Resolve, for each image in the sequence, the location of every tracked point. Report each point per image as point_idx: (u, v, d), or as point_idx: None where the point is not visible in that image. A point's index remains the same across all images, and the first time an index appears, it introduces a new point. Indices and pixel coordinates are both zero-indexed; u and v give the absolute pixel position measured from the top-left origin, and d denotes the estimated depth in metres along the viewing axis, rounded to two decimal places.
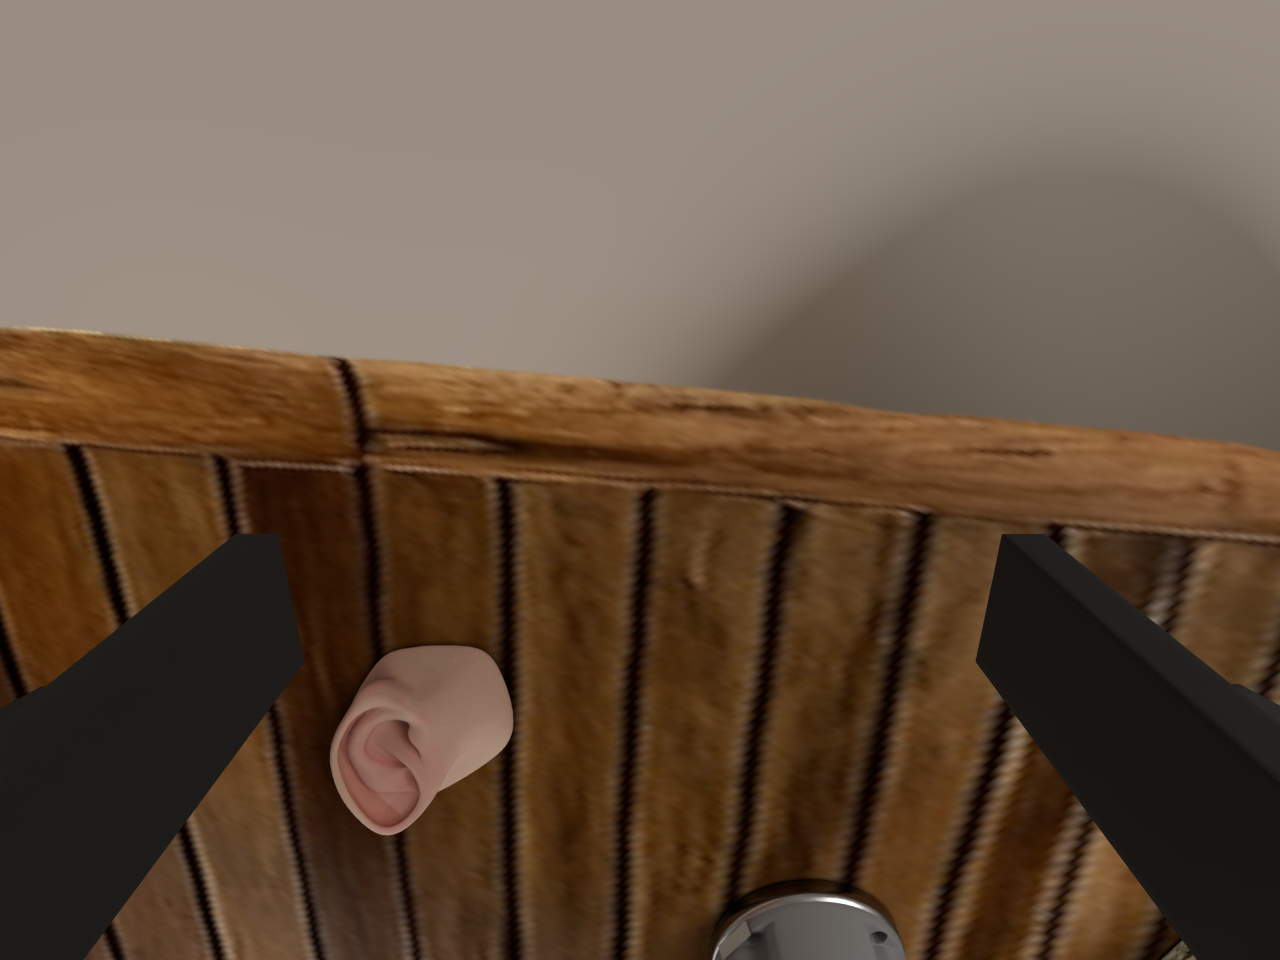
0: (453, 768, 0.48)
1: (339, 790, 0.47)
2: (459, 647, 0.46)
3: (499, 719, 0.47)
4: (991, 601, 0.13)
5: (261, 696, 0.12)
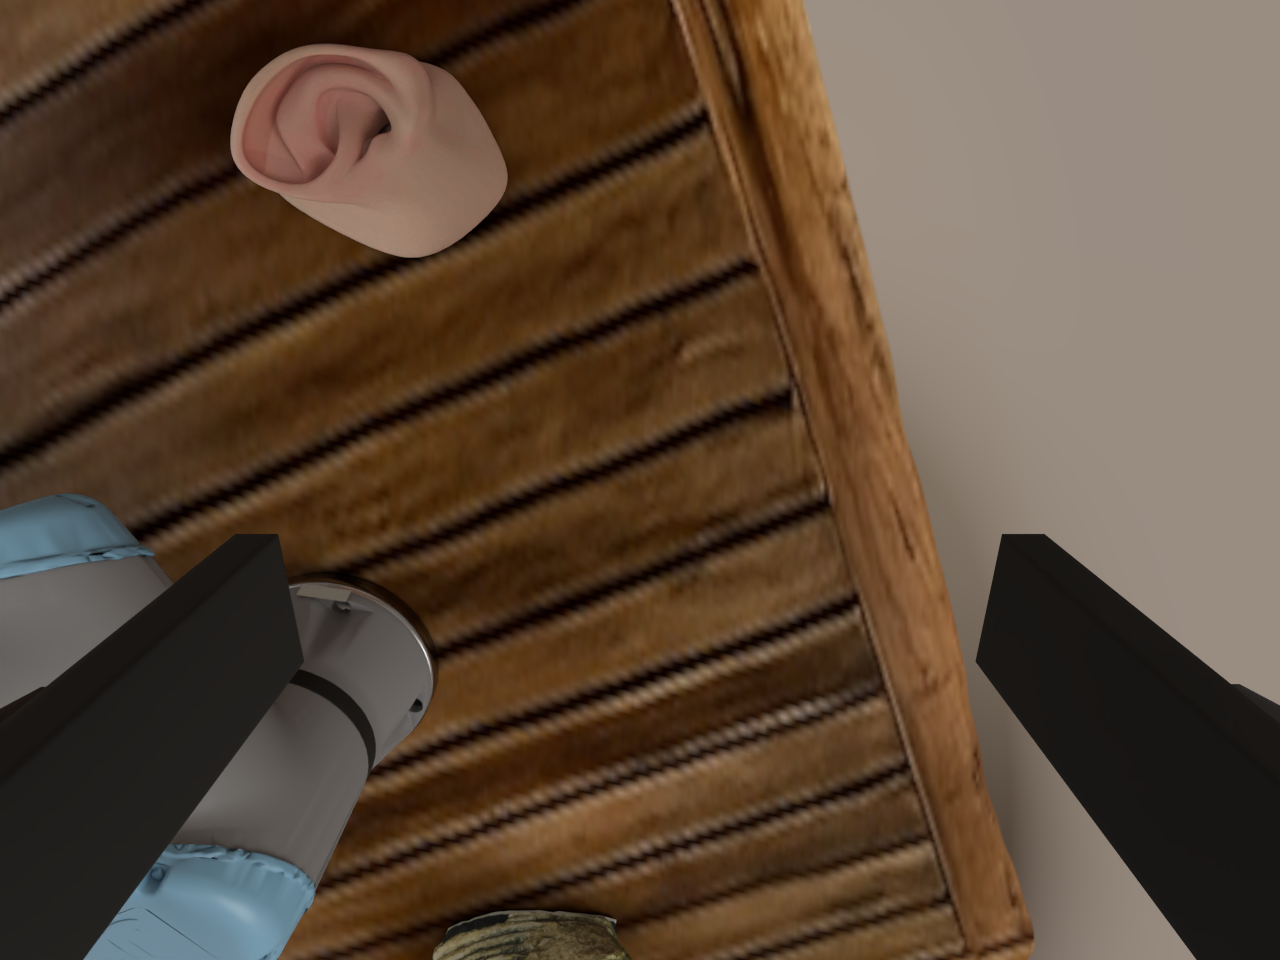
0: (349, 210, 0.41)
1: (256, 79, 0.37)
2: (499, 151, 0.40)
3: (439, 234, 0.42)
4: (991, 601, 0.13)
5: (260, 696, 0.12)
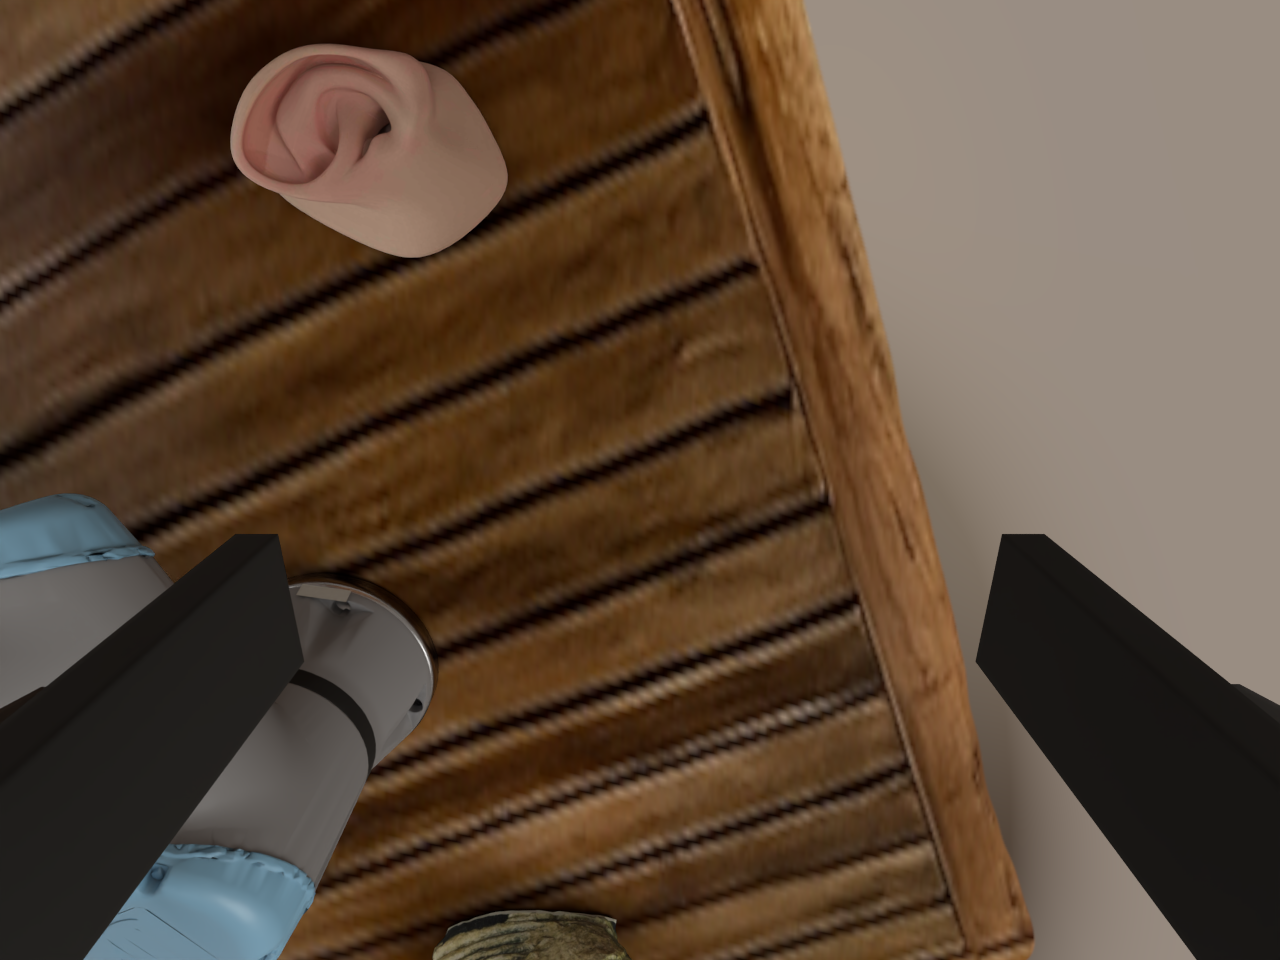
0: (349, 210, 0.41)
1: (256, 79, 0.37)
2: (499, 151, 0.40)
3: (439, 234, 0.42)
4: (991, 601, 0.13)
5: (260, 696, 0.12)
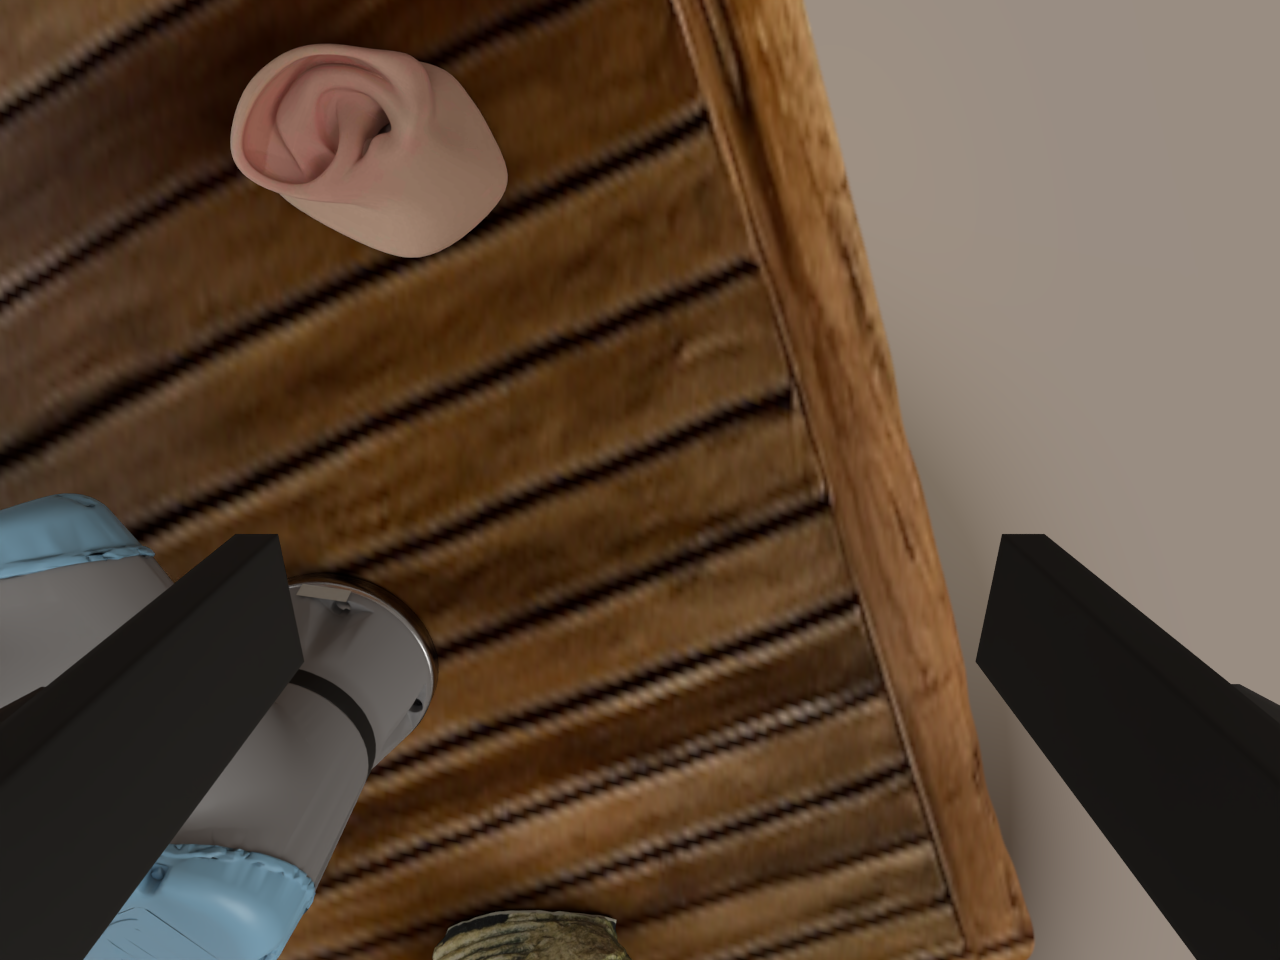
0: (349, 210, 0.41)
1: (256, 79, 0.37)
2: (499, 151, 0.40)
3: (439, 234, 0.42)
4: (991, 601, 0.13)
5: (260, 696, 0.12)
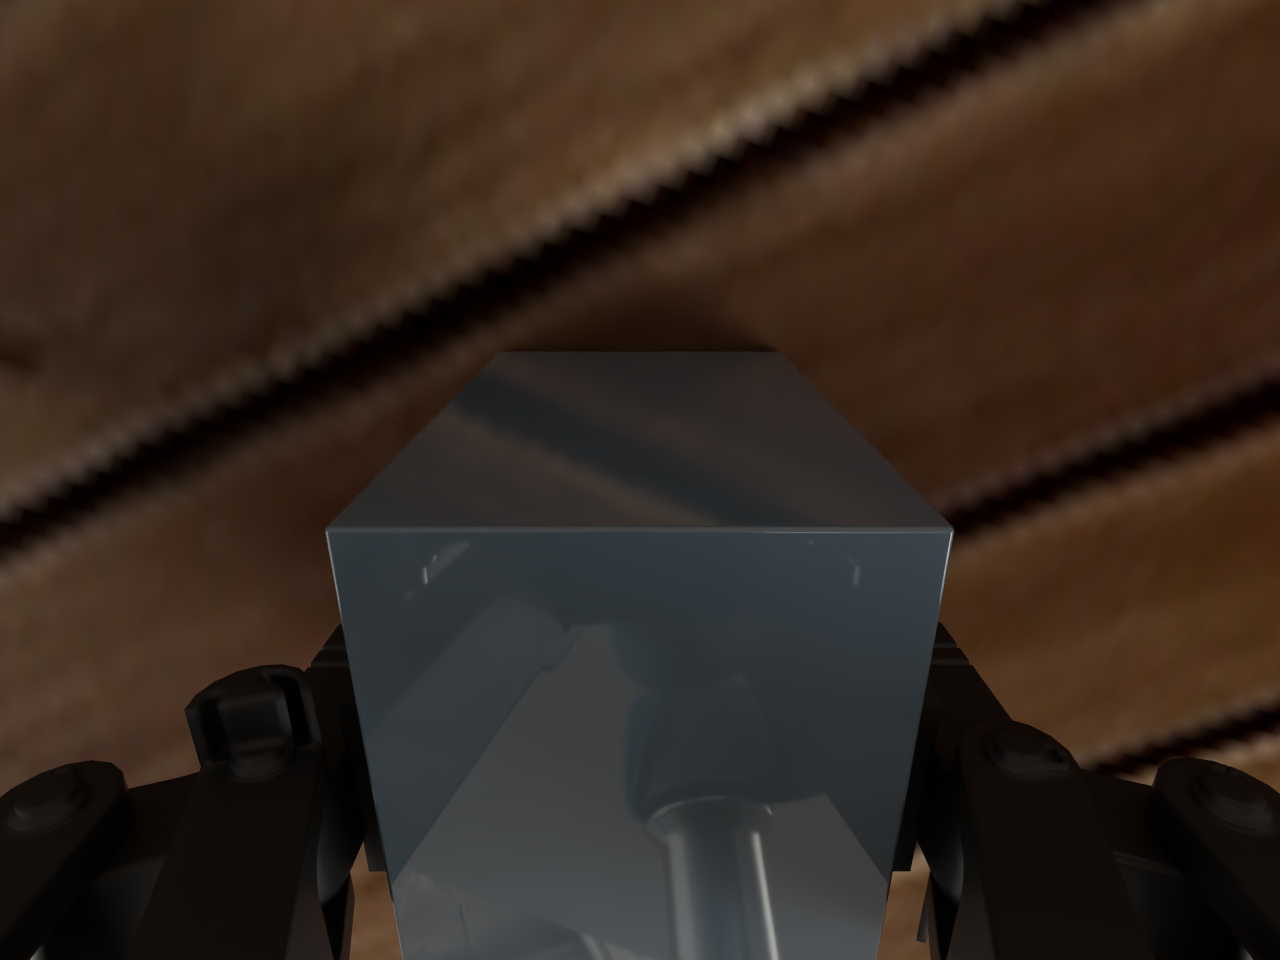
0: None
1: None
2: None
3: None
4: None
5: None
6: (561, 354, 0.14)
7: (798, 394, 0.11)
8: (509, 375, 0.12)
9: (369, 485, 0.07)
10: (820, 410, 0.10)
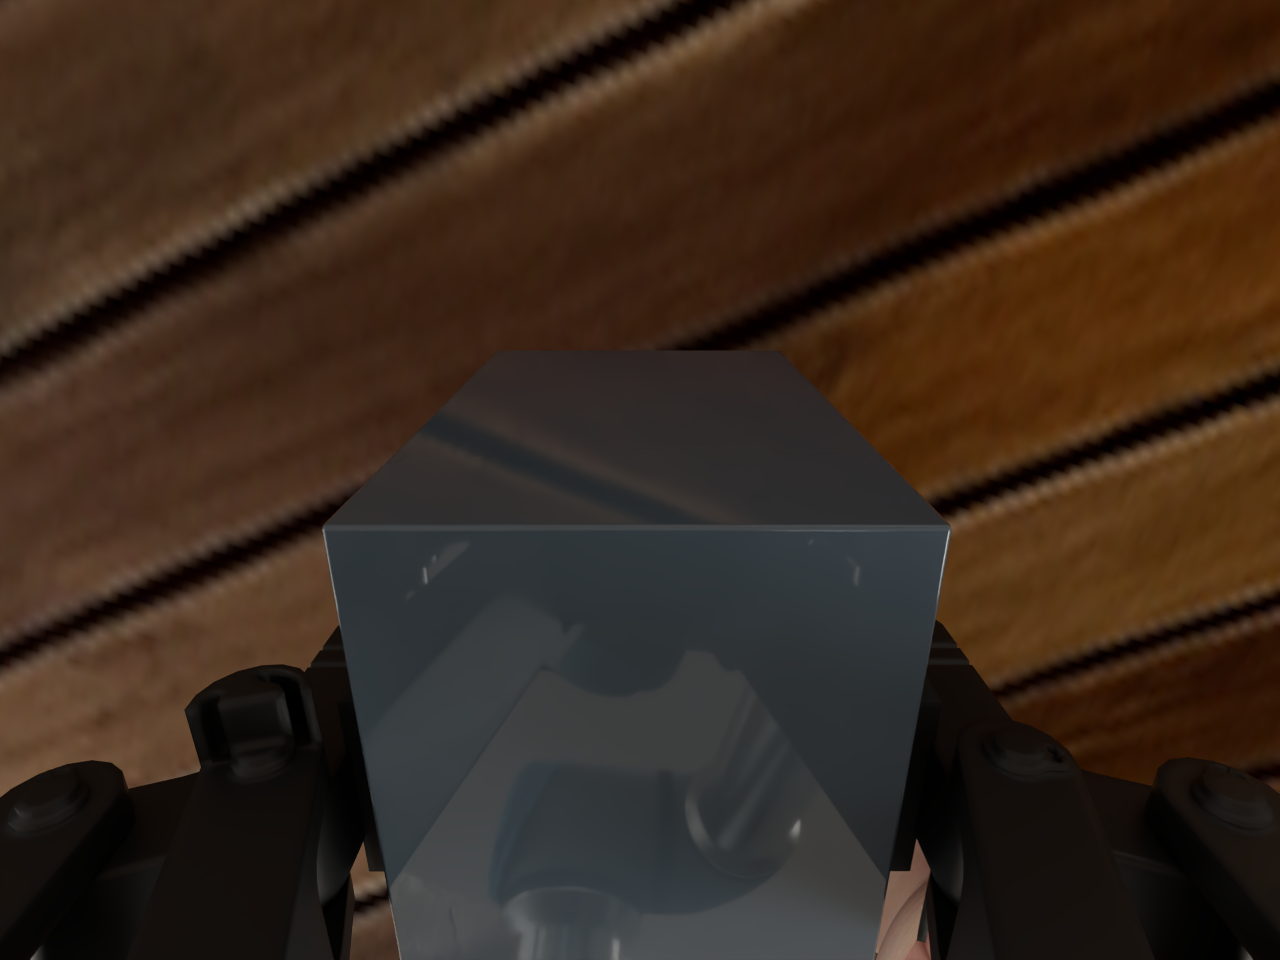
0: None
1: None
2: None
3: None
4: None
5: None
6: (559, 353, 0.14)
7: (796, 393, 0.11)
8: (507, 374, 0.12)
9: (366, 484, 0.07)
10: (818, 409, 0.10)
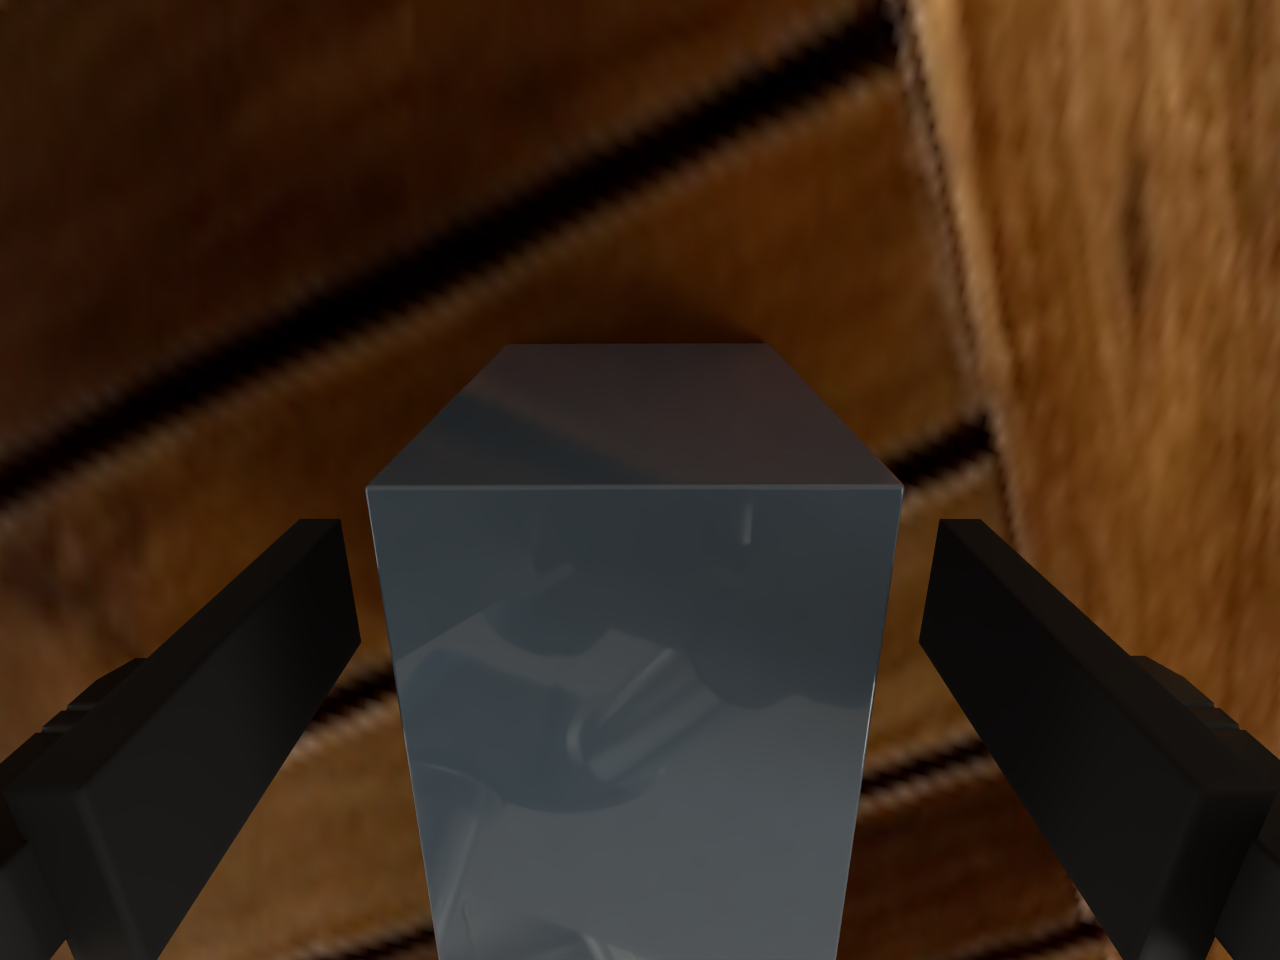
0: None
1: None
2: None
3: None
4: (931, 584, 0.13)
5: (326, 673, 0.12)
6: (564, 345, 0.15)
7: (781, 380, 0.12)
8: (517, 364, 0.13)
9: (399, 454, 0.08)
10: (800, 393, 0.11)
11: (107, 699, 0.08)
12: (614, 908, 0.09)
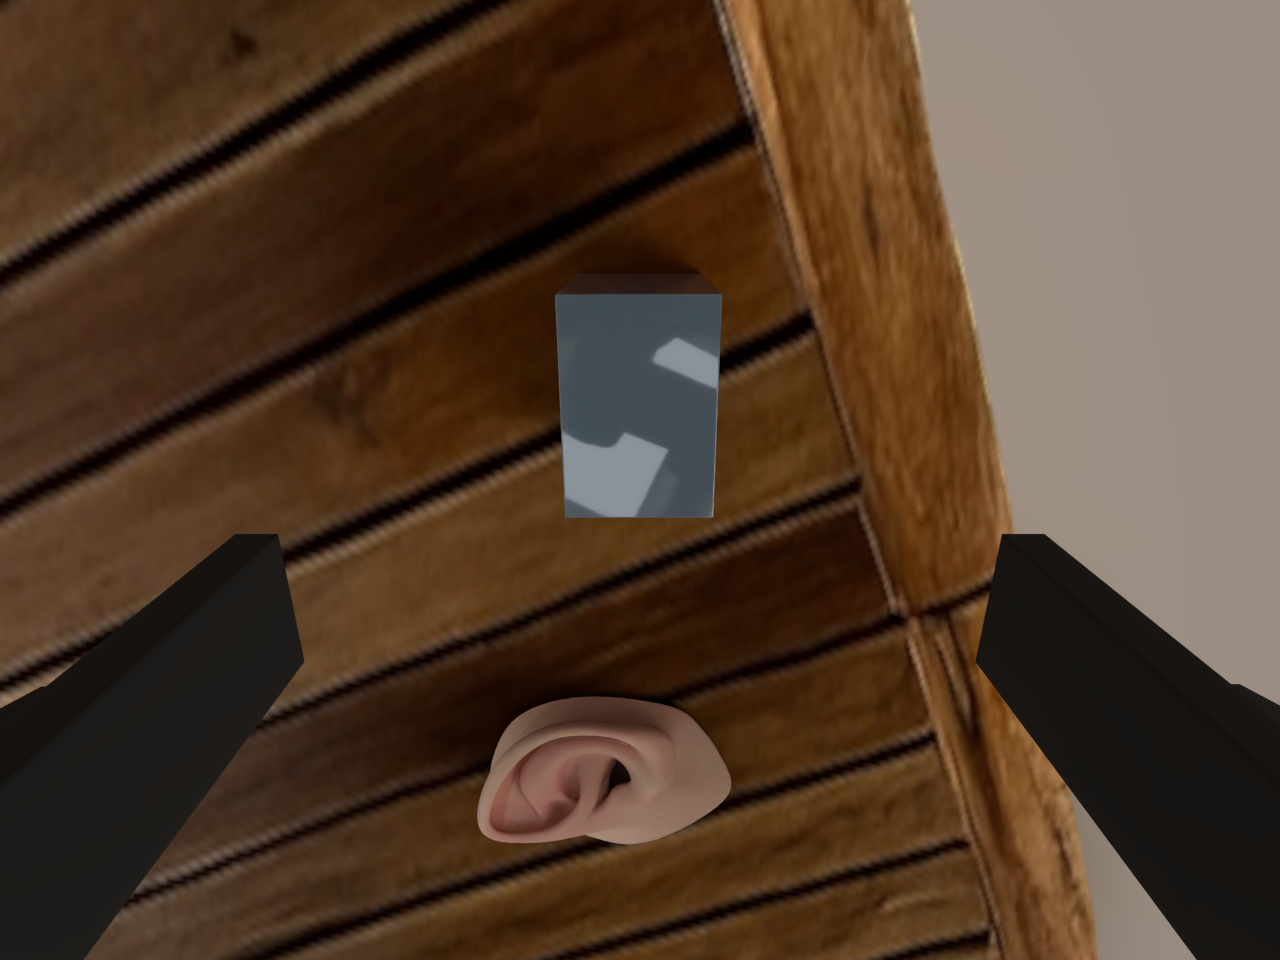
0: None
1: (507, 761, 0.37)
2: (726, 769, 0.40)
3: (659, 835, 0.42)
4: (990, 601, 0.13)
5: (261, 696, 0.12)
6: (604, 273, 0.31)
7: (699, 280, 0.28)
8: (585, 277, 0.29)
9: (559, 291, 0.24)
10: (704, 282, 0.27)
11: None
12: (630, 466, 0.26)
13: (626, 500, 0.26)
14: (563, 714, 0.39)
